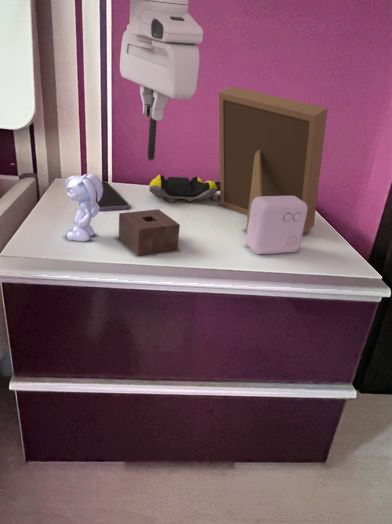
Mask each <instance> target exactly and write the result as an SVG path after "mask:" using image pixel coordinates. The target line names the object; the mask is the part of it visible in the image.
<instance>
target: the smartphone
mask: <svg viewBox="0 0 392 524" xmlns="http://www.w3.org/2000/svg"><path fill="white" fill-rule="evenodd" d="M101 182H102V185H103V194H102V197H101V199H100V201H99V202H97V192H96V202H97V204H98V205H99V211H114V210H115V211H116V210H126V209H128V208H129V203H128V202H127V201H126V200H125V198H123V197H122V196H121V195H120V193H118V192H117V190H115V188H113V186H112V185H111V184H110V183H109V182H108V181H104V180H103V181H102V180H101ZM95 191H96V190H95Z"/></svg>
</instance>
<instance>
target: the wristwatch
mask: <svg viewBox="0 0 392 524" xmlns="http://www.w3.org/2000/svg"><path fill="white" fill-rule="evenodd" d="M213 182H215V184H216V186H217V192H216V193H218V192H220V180H213ZM216 193H215V194H213V195H212V196H210V199H211V200H213V201H215V202H220V194H216Z"/></svg>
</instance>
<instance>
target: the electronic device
mask: <svg viewBox="0 0 392 524" xmlns="http://www.w3.org/2000/svg"><path fill="white" fill-rule="evenodd" d="M307 211H308V207H307V204H306V203H305V202H303V201H302V200H300V199H299V198H297V197H296V196H259V197H256V198H255V199H254V200H253V201H252V204H251V210H250V216H249V223H248V229H247V230H246V236H245V245H246V246H247V247H248V248H249V249H250V250H251V251H252V252H253V253H255V254H257V255H273V254H286V253H295V252H297V251H298V250H299V248H300V246H301V243H302V237H303V235H302V234H303V229H304V224H305V220H306V215H307Z"/></svg>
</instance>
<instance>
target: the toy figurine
mask: <svg viewBox="0 0 392 524" xmlns="http://www.w3.org/2000/svg"><path fill="white" fill-rule="evenodd" d="M101 181H102V180H101V179H100V177H99V176H97V175H96V174H94V173H84V174H83V175H79V174H78V175H76V174H75V175H71V176H69V177H68V178H66V180H65V183H64V184H65V188H66V196H67V197H68V198H70V199H71V200H72V201H73V202H79V203H78V209H77V211H76V213H75V216H74V223H75V224H76V225H75V226H73V228H72V230H70V231H68V232H67V234H66V238H67V240H68V241H75V242H88V241H89V240H90V239H91V238H90V237H93V236H94V235H95V231H94V228H93V227H92V225H91V221H92V218H94V217H96V216H97V215H98V214H99V211H100V210H99V205H98V204H97V202H99V201H100V199H101V197H102V194H103V185H102V182H101ZM95 190H96V191H95ZM96 192H97V202H96Z"/></svg>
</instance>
